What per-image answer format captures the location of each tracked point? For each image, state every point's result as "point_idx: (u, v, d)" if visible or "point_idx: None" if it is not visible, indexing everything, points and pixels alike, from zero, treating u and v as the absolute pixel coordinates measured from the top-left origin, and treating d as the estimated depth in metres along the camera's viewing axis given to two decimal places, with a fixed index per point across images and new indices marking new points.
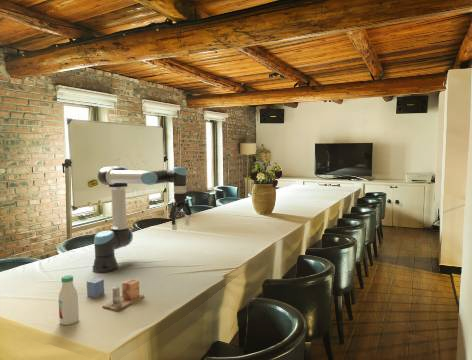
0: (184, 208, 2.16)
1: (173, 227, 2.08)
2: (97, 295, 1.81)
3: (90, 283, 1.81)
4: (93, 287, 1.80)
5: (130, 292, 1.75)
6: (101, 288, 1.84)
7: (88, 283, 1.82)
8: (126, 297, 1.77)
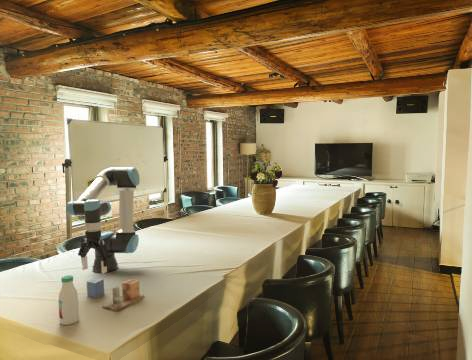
0: None
1: None
2: (97, 295, 1.81)
3: (90, 283, 1.81)
4: (93, 287, 1.80)
5: (130, 292, 1.75)
6: (101, 288, 1.84)
7: (88, 283, 1.82)
8: (126, 297, 1.77)
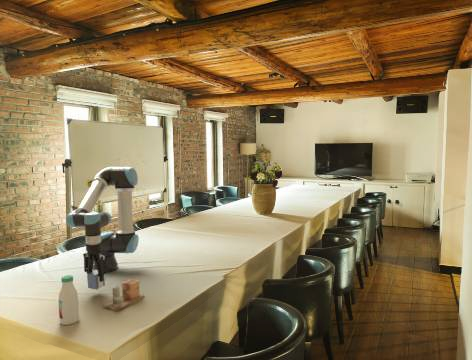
0: None
1: None
2: None
3: (90, 275, 1.81)
4: (93, 279, 1.81)
5: (130, 292, 1.75)
6: None
7: (88, 275, 1.82)
8: (126, 297, 1.77)
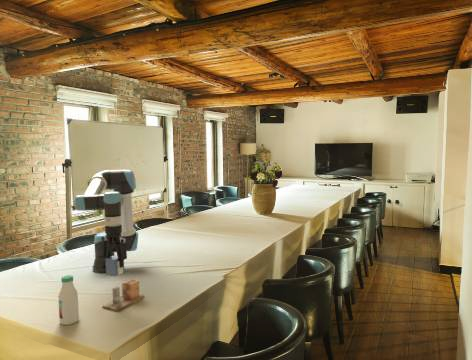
0: None
1: None
2: (117, 273, 1.66)
3: (109, 260, 1.66)
4: (113, 264, 1.65)
5: (130, 292, 1.75)
6: None
7: (107, 260, 1.66)
8: (126, 297, 1.77)
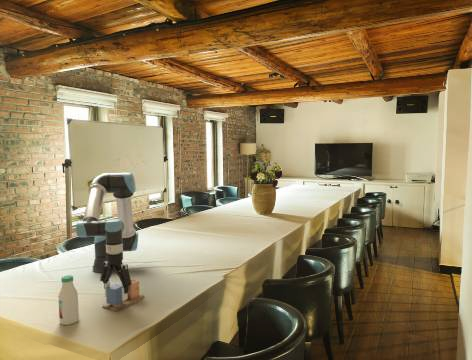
0: None
1: None
2: (117, 302, 1.68)
3: (110, 289, 1.67)
4: (113, 294, 1.67)
5: (130, 292, 1.75)
6: (121, 295, 1.70)
7: (108, 289, 1.68)
8: None
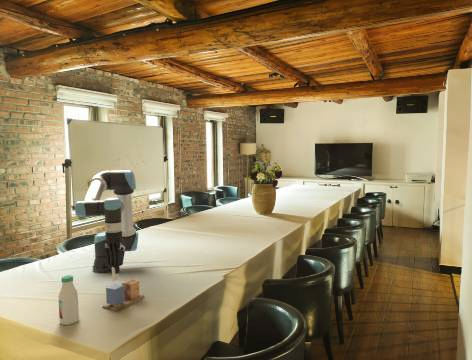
0: None
1: None
2: (117, 302, 1.68)
3: (110, 289, 1.67)
4: (113, 294, 1.67)
5: (130, 292, 1.75)
6: (121, 295, 1.70)
7: (108, 289, 1.68)
8: (126, 297, 1.77)
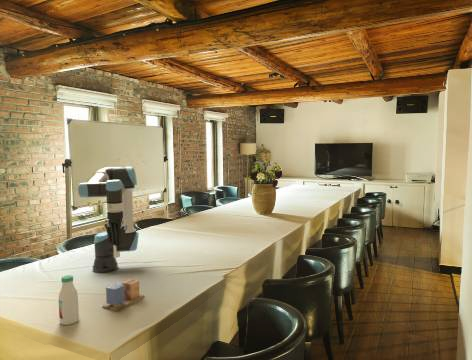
0: None
1: None
2: (117, 302, 1.68)
3: (110, 289, 1.67)
4: (113, 294, 1.67)
5: (130, 292, 1.75)
6: (121, 295, 1.70)
7: (108, 289, 1.68)
8: (126, 297, 1.77)
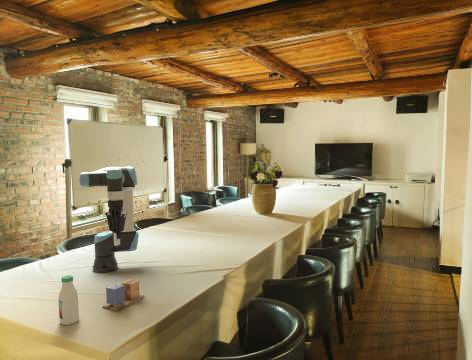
0: None
1: None
2: (117, 302, 1.68)
3: (110, 289, 1.67)
4: (113, 294, 1.67)
5: (130, 292, 1.75)
6: (121, 295, 1.70)
7: (108, 289, 1.68)
8: (126, 297, 1.77)
